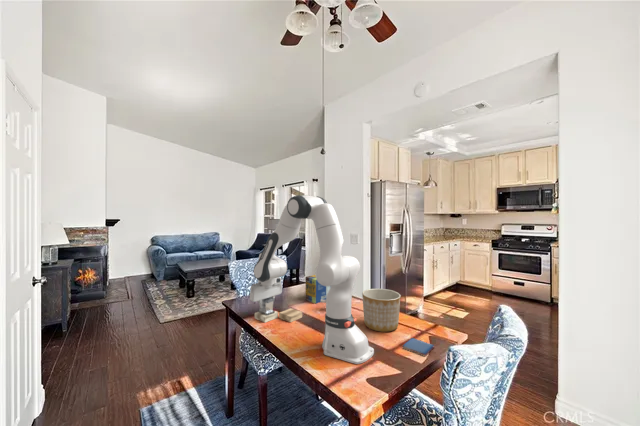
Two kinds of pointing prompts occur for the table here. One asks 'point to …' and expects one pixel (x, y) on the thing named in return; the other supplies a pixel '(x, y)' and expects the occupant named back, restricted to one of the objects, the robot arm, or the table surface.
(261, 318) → the stand
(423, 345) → the blue sponge
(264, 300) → the housing
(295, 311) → the stand
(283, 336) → the table surface
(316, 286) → the protein box
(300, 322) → the table surface
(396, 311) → the planter
